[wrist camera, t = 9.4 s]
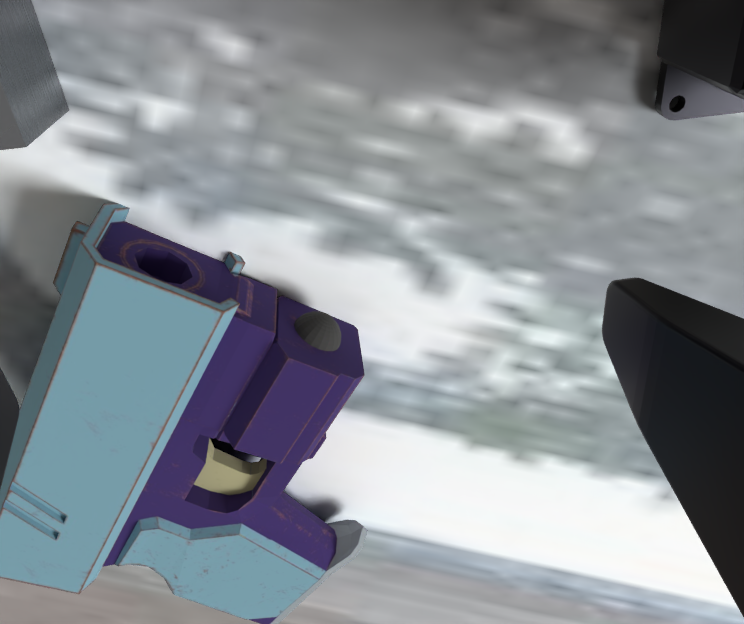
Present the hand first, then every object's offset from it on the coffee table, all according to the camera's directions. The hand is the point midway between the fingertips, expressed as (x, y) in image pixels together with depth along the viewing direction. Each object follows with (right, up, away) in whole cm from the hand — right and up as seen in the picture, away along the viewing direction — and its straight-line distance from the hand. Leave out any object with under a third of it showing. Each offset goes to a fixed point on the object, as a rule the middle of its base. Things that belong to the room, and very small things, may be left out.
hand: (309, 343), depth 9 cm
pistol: (-5, -4, +17) cm, 18 cm away
